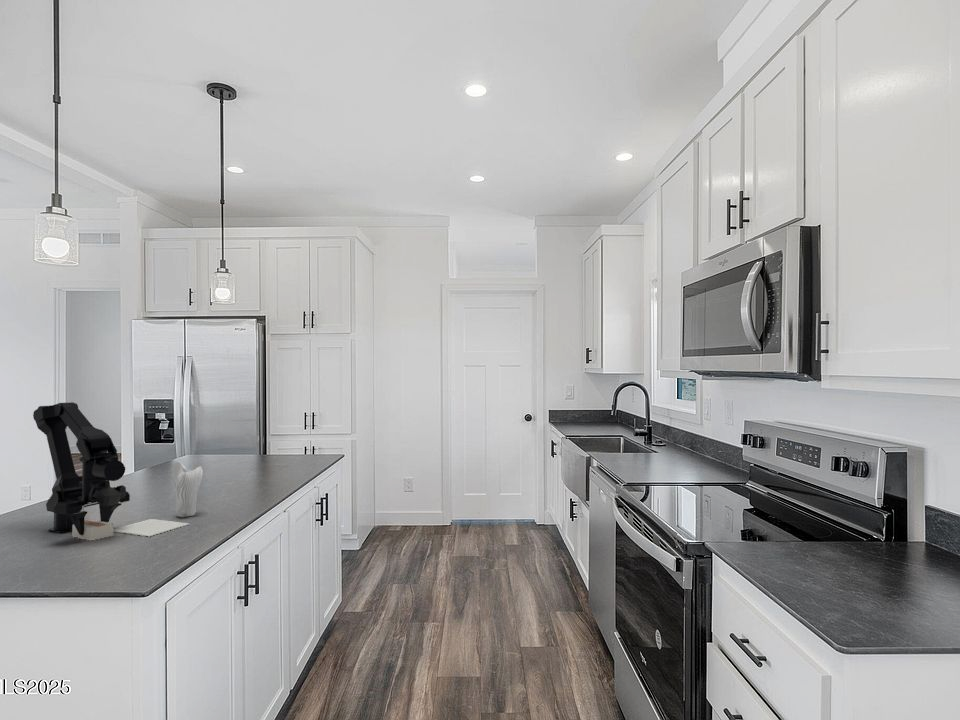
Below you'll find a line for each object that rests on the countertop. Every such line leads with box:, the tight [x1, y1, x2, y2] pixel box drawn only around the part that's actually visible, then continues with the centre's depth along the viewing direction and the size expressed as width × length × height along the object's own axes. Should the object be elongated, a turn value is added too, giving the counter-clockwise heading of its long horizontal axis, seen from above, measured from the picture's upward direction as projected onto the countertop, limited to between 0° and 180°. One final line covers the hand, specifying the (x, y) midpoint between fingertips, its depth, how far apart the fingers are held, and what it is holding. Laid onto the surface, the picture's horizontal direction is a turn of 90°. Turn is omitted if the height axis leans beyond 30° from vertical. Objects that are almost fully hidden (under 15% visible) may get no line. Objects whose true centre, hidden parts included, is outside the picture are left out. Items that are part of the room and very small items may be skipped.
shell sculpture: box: [171, 460, 204, 518], centre depth 185 cm, size 8×8×18 cm
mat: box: [113, 518, 190, 538], centre depth 170 cm, size 16×14×1 cm
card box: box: [71, 519, 114, 541], centre depth 161 cm, size 9×6×4 cm, turn 65°
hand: (92, 531), depth 161 cm, fingers open, 6 cm apart
